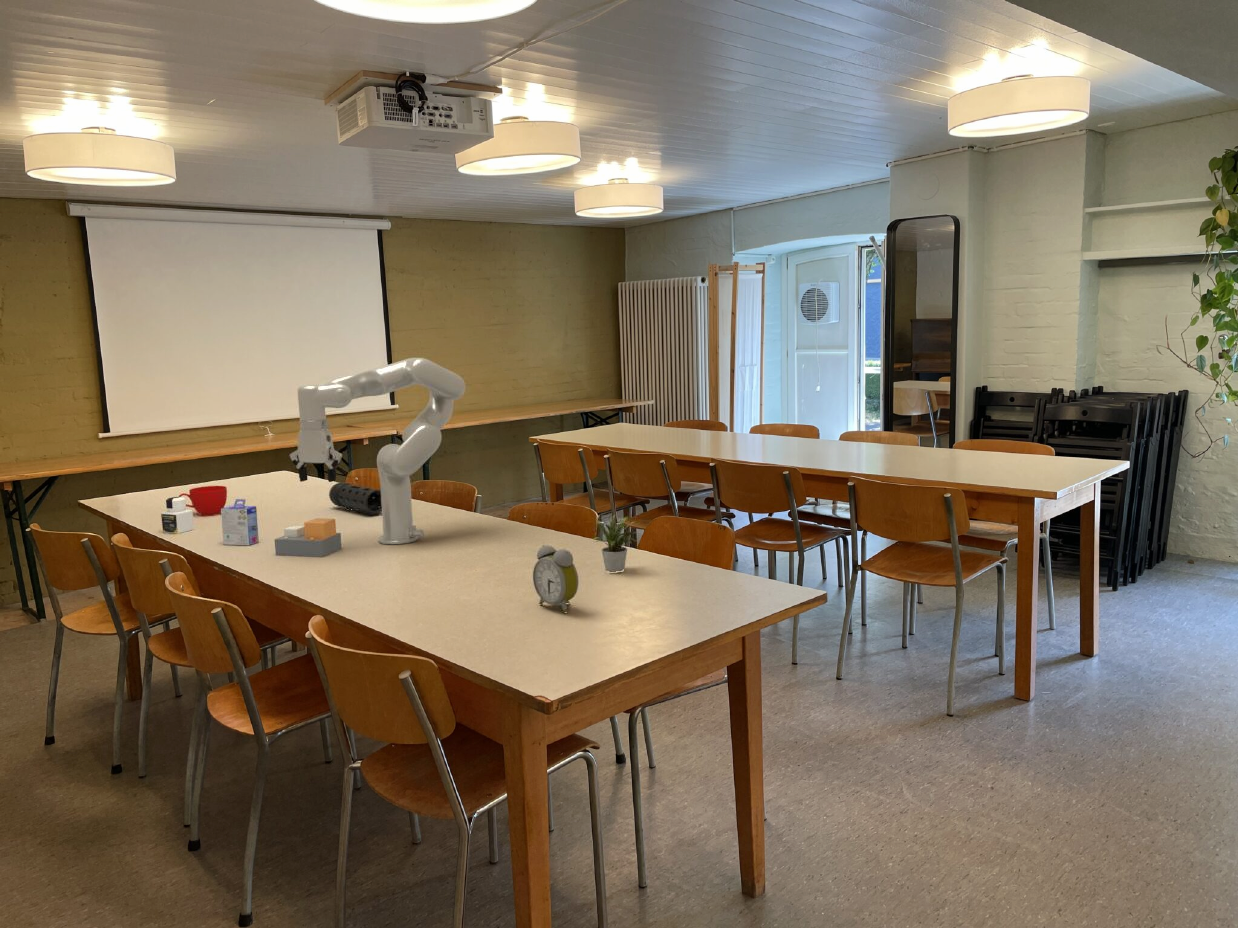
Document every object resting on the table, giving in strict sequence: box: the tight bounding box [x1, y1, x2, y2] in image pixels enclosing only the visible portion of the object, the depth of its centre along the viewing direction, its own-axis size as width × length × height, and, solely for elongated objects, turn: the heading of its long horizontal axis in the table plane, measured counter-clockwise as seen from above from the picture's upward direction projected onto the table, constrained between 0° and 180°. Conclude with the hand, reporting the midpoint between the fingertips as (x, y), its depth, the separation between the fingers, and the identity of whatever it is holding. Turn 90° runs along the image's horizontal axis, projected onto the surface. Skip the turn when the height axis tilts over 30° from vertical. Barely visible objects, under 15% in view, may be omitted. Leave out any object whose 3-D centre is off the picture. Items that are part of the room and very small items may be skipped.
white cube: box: [283, 525, 305, 538], centre depth 270 cm, size 4×4×4 cm
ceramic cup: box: [178, 485, 228, 517], centre depth 331 cm, size 13×17×10 cm
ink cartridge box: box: [220, 498, 260, 546], centre depth 281 cm, size 10×6×14 cm, turn 78°
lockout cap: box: [303, 517, 337, 539], centre depth 268 cm, size 7×7×5 cm
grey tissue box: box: [274, 532, 342, 558], centre depth 269 cm, size 16×11×6 cm
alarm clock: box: [532, 544, 579, 613], centre depth 208 cm, size 12×7×15 cm, turn 45°
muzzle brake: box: [328, 481, 382, 517], centre depth 331 cm, size 10×28×10 cm, turn 47°
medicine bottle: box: [160, 496, 195, 535], centre depth 302 cm, size 7×7×12 cm
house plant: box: [587, 513, 637, 572], centre depth 239 cm, size 14×14×16 cm
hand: (317, 481), depth 266 cm, fingers open, 9 cm apart
